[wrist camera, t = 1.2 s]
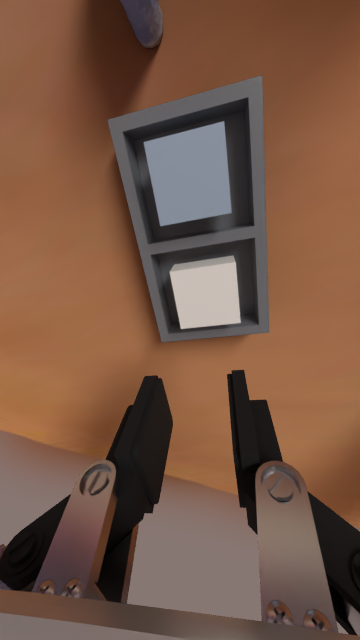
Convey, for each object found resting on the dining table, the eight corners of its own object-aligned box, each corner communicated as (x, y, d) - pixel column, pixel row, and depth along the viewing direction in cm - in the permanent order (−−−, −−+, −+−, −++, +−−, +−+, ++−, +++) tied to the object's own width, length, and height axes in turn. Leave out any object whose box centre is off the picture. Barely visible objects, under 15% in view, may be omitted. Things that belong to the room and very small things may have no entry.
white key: (233, 255, 24) (235, 262, 21) (237, 310, 26) (240, 322, 23) (174, 264, 25) (169, 272, 22) (184, 316, 27) (180, 328, 25)
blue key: (222, 132, 20) (224, 120, 17) (229, 211, 22) (231, 212, 19) (152, 150, 21) (143, 142, 18) (166, 223, 23) (160, 226, 20)
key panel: (253, 97, 21) (262, 75, 17) (262, 316, 29) (269, 332, 26) (123, 132, 23) (107, 119, 19) (167, 326, 32) (161, 342, 28)
